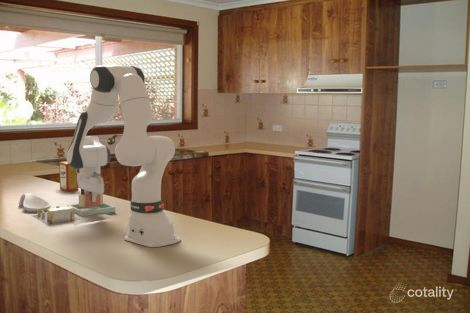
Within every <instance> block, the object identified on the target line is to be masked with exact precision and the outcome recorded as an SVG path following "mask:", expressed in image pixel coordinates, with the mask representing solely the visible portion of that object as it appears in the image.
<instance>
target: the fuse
mask: <svg viewBox="0 0 470 313" xmlns="http://www.w3.org/2000/svg"><path fill="white" fill-rule="evenodd" d="M91 198H92V193H90V194H82V195H81V194H78V204H79V206H81V207H85V208H88V207H87V206H94V205H101V204H103V202H104V193H103V194H97V197H96V201H95V202H92V201H91Z"/></svg>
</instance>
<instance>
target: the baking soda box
mask: <svg viewBox="0 0 470 313" xmlns="http://www.w3.org/2000/svg"><path fill="white" fill-rule="evenodd" d="M58 163H59V170H58V171H59V189H60V190H62V191H64V190H65V192H74V191H79V187H78V183H77V174H78V173H76V169H74V168H72V167H71V166H70V165H69V164H68V163H67V161H59V162H58Z"/></svg>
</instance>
